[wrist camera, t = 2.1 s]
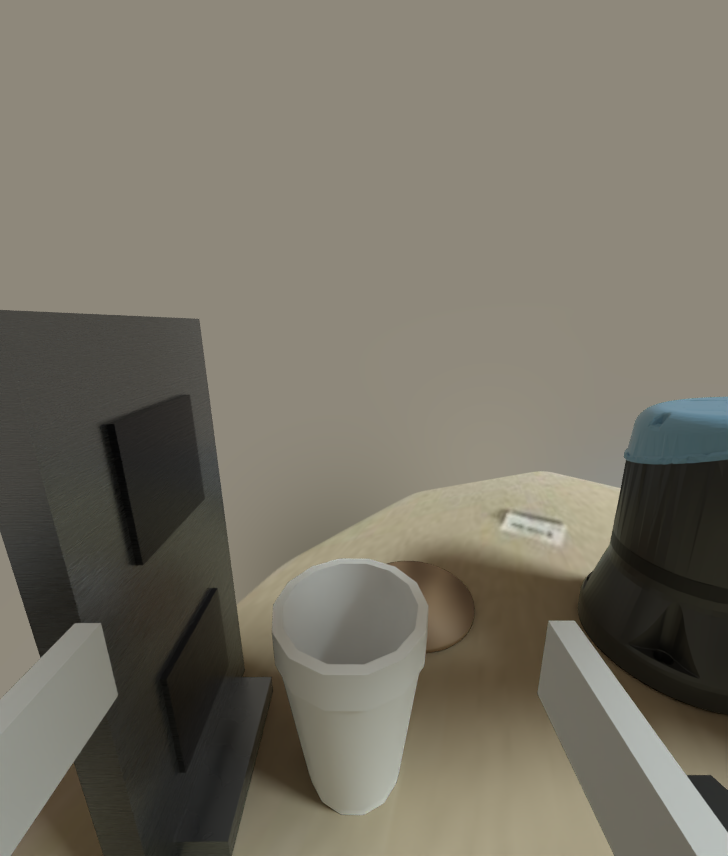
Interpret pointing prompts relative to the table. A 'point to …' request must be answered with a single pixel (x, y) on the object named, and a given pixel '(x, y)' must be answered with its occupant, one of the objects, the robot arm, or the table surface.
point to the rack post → (132, 566)
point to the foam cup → (351, 674)
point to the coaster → (441, 603)
